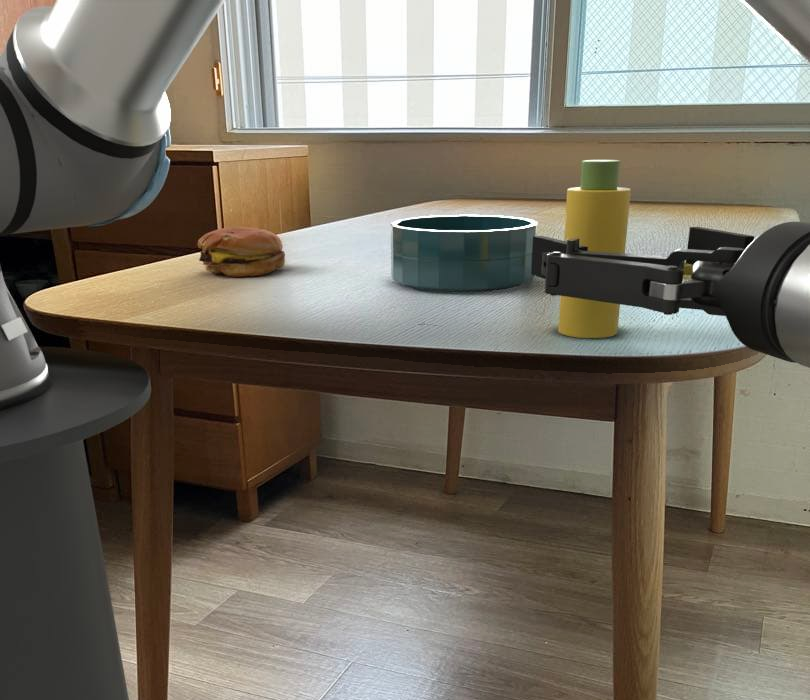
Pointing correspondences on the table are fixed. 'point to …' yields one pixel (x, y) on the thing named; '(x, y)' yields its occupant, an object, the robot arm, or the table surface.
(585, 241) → the yellow bottle green cap
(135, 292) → the table surface
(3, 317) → the robot arm
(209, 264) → the burger
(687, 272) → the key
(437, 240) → the teal pet bowl
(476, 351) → the table surface
